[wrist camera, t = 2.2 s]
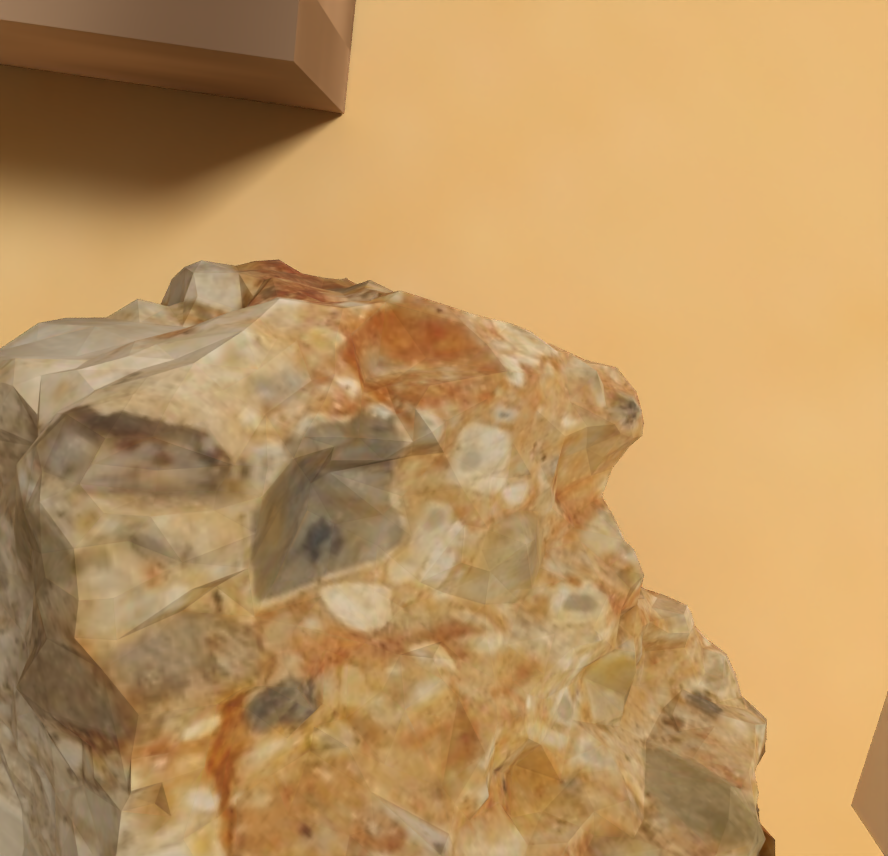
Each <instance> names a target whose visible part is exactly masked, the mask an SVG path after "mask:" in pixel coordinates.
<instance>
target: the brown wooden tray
mask: <svg viewBox="0 0 888 856" xmlns="http://www.w3.org/2000/svg"><path fill="white" fill-rule="evenodd" d="M355 2H356V0H0V64H3V65H10V66H17V67H24V68H31V69H38V70H45V71H52V72H59V73H66V74H72V75H79V76H86V77H93V78H100V79H107V80H114V81H121V82H128V83H135V84H142V85H149V86H156V87H163V88H170V89H177V90H183V91H190V92H197V93H204V94H211V95H218V96H225V97H232V98H239V99H246V100H253V101H260V102H267V103H274V104H281V105H288V106H295V107H301V108H308V109H315V110H322V111H329V112H336V113H343V114H344V110H345V100H346V90H347V80H348V70H349V61H350V51H351V41H352V31H353V21H354V12H355Z"/></svg>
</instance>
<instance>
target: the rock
mask: <svg viewBox="0 0 888 856" xmlns="http://www.w3.org/2000/svg"><path fill="white" fill-rule="evenodd" d="M643 425H644V421H643V416H642V410H641V407H640V403H639V400H638V396H637V393H636V391H635V389H634V388H633V387H632V386H631V385H630V383H629V382H628V381H627V380H626V379H625V377H624V376H623V375H622V374H621V372H620V371H619V370H618V369H617V368H616V367H612V366H608V365H604V364H599V363H595V362H591V361H587V360H584V359H582V358H580V357H577V356H575V355H573V354H571V353H569V352H567V351H565V350H562V349H560V348H558V347H556V346H554V345H552V344H548V343H545V342H544V341H543V340H541V339H540V338H539V337H537V336H536V335H535V334H534V333H532V332H530V331H528V330H525V329H523V328H520V327H518V326H516V325H513V324H511V323H507V322H503V321H498V320H494V319H490V318H486V317H482V316H478V315H474V314H471V313H468V312H465V311H462V310H459V309H456V308H453V307H450V306H447V305H444V304H441V303H437V302H434V301H431V300H428V299H425V298H422V297H419V296H416V295H413V294H410V293H406V292H402V291H397V292H393V291H391V290H389V289H387V288H385V287H383V286H381V285H379V284H377V283H375V282H373V281H371V280H369V281H366V282H363V283H360V284H355V283H353V282H351V281H349V280H348V279H347V278H345V279H342V280H339V279H328V278H321V277H317V276H312V275H307V274H302V273H300V272H298V271H297V270H295V269H293V268H292V267H290V266H288V265H287V264H285V263H283V262H282V261H280V260H266V261H254V262H250V263H246V264H242V265H238V266H232V265H226V264H220V263H214V262H208V261H199V262H196V263H194V264H191V265H189V266H187V267H184V268H183V269H182V270H181V271H180V272H179V273H178V274H177V275H176V276H175V277H174V278H173V279H172V280H171V283H170V285H169V287H168V289H167V291H166V294H165V296H164V298H163V300H162V303H161V305H160V304H156V303H152V302H148V301H144V300H139V299H137V300H135V301H134V302H132V303H130V304H129V305H127V306H125V307H124V308H122V309H120V310H119V311H117V312H115V313H114V314H112V315H110V316H109V317H107V318H63V319H58V320H53V321H47V322H42V323H38V324H36V325H35V326H33V327H32V328H30V329H29V330H27V331H26V332H24V333H23V334H21V335H20V336H18V337H17V338H15V339H14V340H12V341H11V342H9V343H8V344H6V345H5V346H3V347H2V348H0V856H775V840H774V838H773V837H772V836H771V835H770V834H769V833H768V832H767V831H766V829H765V828H764V827H763V826H762V825H761V824H760V820H759V813H758V811H759V809H758V805H757V799H758V794H759V791H758V786H757V781H756V776H755V770H756V767H757V765H758V763H759V761H760V760H761V758H762V756H763V754H764V753H765V742H766V726H767V719H766V718H765V717H764V716H763V715H762V714H761V713H760V712H759V711H757V710H756V709H755V708H754V707H753V706H752V705H751V704H750V703H749V702H748V701H746V700H745V699H744V698H743V697H742V696H741V692H740V689H739V685H738V681H737V677H736V674H735V671H734V669H733V667H732V665H731V663H730V661H729V658H728V656H727V654H725V653H724V652H723V651H722V650H720V649H719V648H718V647H716V646H715V645H714V644H713V643H711V642H710V641H709V640H707V638H706V637H705V636H704V635H703V634H702V633H701V632H700V631H699V630H698V629H697V628H696V627H695V624H694V620H693V617H692V613H691V611H690V609H689V608H688V606H687V605H685V604H683V603H681V602H678V601H676V600H674V599H671V598H669V597H667V596H664V595H661V594H658V593H655V592H652V591H649V590H646V589H644V588H642V587H641V586H642V581H643V577H644V574H643V571H642V569H641V566H640V564H639V561H638V558H637V556H636V553H635V551H634V549H633V548H632V547H631V546H630V545H629V544H627V543H626V542H625V540H624V538H623V536H622V534H621V531H620V529H619V527H618V525H617V523H616V521H615V519H614V517H613V515H612V513H611V511H610V510H609V508H608V506H607V504H606V503H605V501H604V499H603V497H602V495H603V492H604V489H605V486H606V484H607V481H608V478H609V475H610V473H611V470H612V468H613V467H614V465H615V464H616V463H617V462H618V460H619V459H620V458H621V457H622V455H623V454H624V453H625V452H626V450H627V449H628V447H629V446H631V445H632V444H633V443H634V442H635V441H636V440H637V439H638V438H640V437H641V436H642V433H643Z"/></svg>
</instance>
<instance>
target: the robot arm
mask: <svg viewBox="0 0 888 856" xmlns="http://www.w3.org/2000/svg"><path fill="white" fill-rule="evenodd" d="M851 806H852V807H853V809H854V810H855V812H856V813H857V815H858V816H859V818H860V819H861V821H862V822H863V824H864V825H865V827H866V828H867V830H868V831H869V833H870V834H871V836H872V837H873V839H874V840H875V842H876V843H877V845H878V846H879V848H880V849H881V851H882V853H883V854H884V856H888V693H887V696H886V699H885V702H884V705H883V708H882V711H881V715H880V718H879V721H878V724H877V727H876V730H875V733H874V736H873V739H872V742H871V745H870V749H869V752H868V755H867V758H866V761H865V764H864V767H863V770H862V773H861V776H860V779H859V782H858V786H857V789H856V792H855V795H854V798H853V801H852V804H851Z"/></svg>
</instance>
